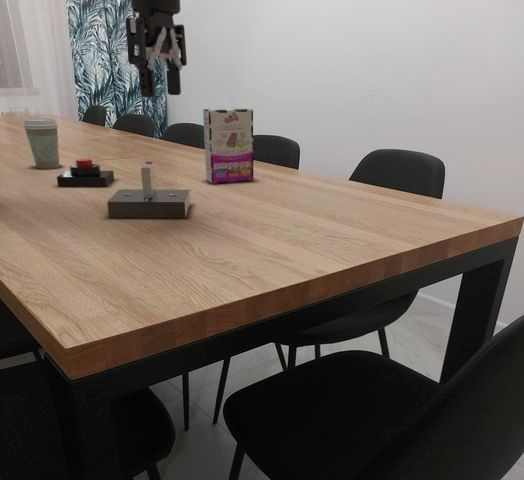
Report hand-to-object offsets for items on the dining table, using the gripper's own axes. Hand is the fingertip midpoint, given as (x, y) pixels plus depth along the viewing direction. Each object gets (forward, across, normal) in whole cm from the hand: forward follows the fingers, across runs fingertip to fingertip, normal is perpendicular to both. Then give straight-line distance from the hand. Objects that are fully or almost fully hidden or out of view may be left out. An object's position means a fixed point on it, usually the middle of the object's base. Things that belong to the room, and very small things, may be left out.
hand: (161, 95), depth 83 cm
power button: (+17, -21, -34) cm, 43 cm away
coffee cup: (+21, -35, -57) cm, 70 cm away
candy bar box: (+20, -38, -4) cm, 43 cm away
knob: (+17, -3, -6) cm, 19 cm away
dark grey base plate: (+20, -3, -6) cm, 21 cm away
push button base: (+20, -21, -34) cm, 45 cm away
